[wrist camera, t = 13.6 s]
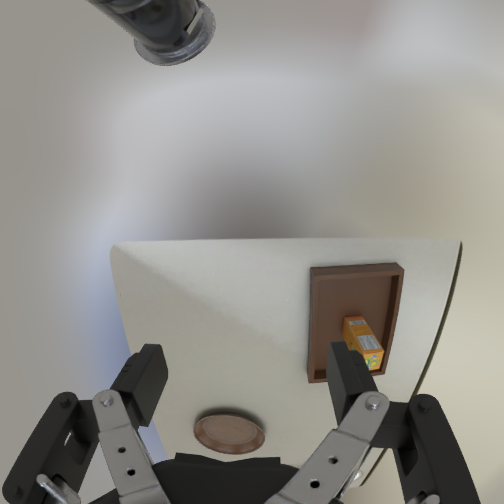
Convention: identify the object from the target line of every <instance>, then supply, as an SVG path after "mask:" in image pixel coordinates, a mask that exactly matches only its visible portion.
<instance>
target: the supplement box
mask: <svg viewBox="0 0 504 504" xmlns="http://www.w3.org/2000/svg"><path fill="white" fill-rule="evenodd" d="M342 336H343V338H344V340H345V341H346V344H347V346H348V349H349V350H357V351H358V352H359V353H361V354H362V355H363V357H364V359H365V361H366V365H367V366H368V368H369V370H374V369H379V368H380V364H381V361H382V357H383V353H384V350H383V348H382V347H381V345H380V343H379V342H378V340H377V339H376V337H375V335H374V334H373V332H372V331H371V329H370V327H369V326H368V324H367V323H366V321H365V320H364V318H363V317H362V316H354V317H344V322H343V328H342Z"/></svg>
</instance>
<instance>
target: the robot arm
mask: <svg viewBox="0 0 504 504" xmlns="http://www.w3.org/2000/svg"><path fill="white" fill-rule="evenodd" d="M86 1H87V2H89V3H90V4H91V5H93V6H94V7H96V8H97V9H98V10H100V11H101V12H102V13H104V14H105V15H106V16H107V17H109V18H110V19H111V20H113V21H114V22H115V23H116V24H118V25H119V26H120V27H121V28H123V29H124V30H125V31H126V32H128V33H129V34H130V35H131V36H132V37H134V38H135V39H136V40H137V41H138V42H140V43H141V44H142V45H143V47H144V48H145V49H147V50H148V51H149V52H151V53H153V54H156V55H161V56H168V55H174V54H177V53H180V52H182V51H184V50H186V49H188V48H189V47H191V46H192V45H193V44H194V43H195V42H196V41H197V40H198V39H199V38H200V36H201V35H202V33H203V31H204V27H205V18H204V15H203V10H202V7H201V8H199V6H198V4H197V2H196V0H86ZM326 376H327V381H328V386H329V390H330V394H331V398H332V403H333V407H334V411H335V416H336V420H337V425H338V427H337V429H332V430H331V431H330V432H329V433H328V435H327V436H326V437H325V439H324V440H323V441H322V443H321V444H320V445H319V446H318V448H317V449H316V450H315V451H314V453H313V454H312V455H311V456H310V458H309V459H308V460H307V461H306V462H305V464H304V465H303V466H302V467H301V468H300V469H298V468H295V467H293V466H289V465H285V464H280V457H267V458H249V459H244V460H238V461H232V462H222V461H219V460H215V459H212V458H208V457H205V456H202V455H193V454H184V453H176V455H175V459H170V460H165V461H161V462H159V463H156V464H154V462H153V461H152V459H151V457H150V455H149V453H148V451H147V449H146V447H145V445H144V443H143V441H142V439H141V436H140V434H139V432H138V428H139V426H145V427H148V426H149V424H150V421H151V419H152V416H153V414H154V411H155V409H156V406H157V404H158V401H159V399H160V396H161V394H162V392H163V389H164V387H165V384H166V382H167V379H168V368H167V364H166V361H165V357H164V354H163V350H162V347H161V345H160V344H144V346H143V347H142V349H141V351H140V352H139V353H135V354H133V355H132V356H131V357H130V358H129V359H128V360H127V362H126V363H125V365H124V367H123V368H122V370H121V372H120V373H119V375H118V376H117V378H116V379H115V381H114V383H113V384H112V386H111V388H110V390H104V391H101V392H99V393H98V394H96V395H95V396H94V398H93V400H78V398H77V397H76V395H75V394H74V393H72V392H63V393H60V394H58V395H57V396H56V397H55V398H54V399H53V401H52V402H51V404H50V405H49V407H48V409H47V410H46V412H45V413H44V415H43V416H42V418H41V419H40V421H39V423H38V424H37V426H36V428H35V429H34V431H33V433H32V434H31V436H30V437H29V439H28V441H27V443H26V444H25V446H24V448H23V449H22V451H21V453H20V455H19V456H18V458H17V460H16V462H15V463H14V466H13V467H12V469H11V471H10V473H9V475H8V477H7V479H6V480H5V482H4V484H3V487H2V493H3V496H4V498H5V500H7V502H9V503H10V504H81V501H80V497H79V495H78V492H79V490H80V487H81V484H82V482H83V479H84V477H85V474H86V472H87V469H88V466H89V464H90V462H91V459H92V457H93V454H94V452H95V450H96V447H97V445H98V443H99V442H100V444H101V447H102V450H103V453H104V456H105V459H106V462H107V465H108V468H109V471H110V473H111V476H112V479H113V481H114V484H115V486H116V488H115V489H113V490H112V491H110V492H108V493H107V494H105V495H103V496H101V497H100V498H98V499H96V500H94V501H92V502H90V503H89V504H344V503H342V502H341V501H340V500H341V498H342V497H343V495H344V494H345V492H346V491H347V489H348V488H349V486H350V485H351V483H352V481H353V479H354V478H355V476H356V475H357V473H358V471H359V470H360V468H361V467H362V465H363V463H364V462H365V460H366V458H367V457H368V455H369V453H370V451H371V450H372V448H373V447H376V448H392V450H393V453H394V457H395V461H396V465H397V469H398V474H399V478H400V482H401V486H402V491H403V495H404V500H405V504H481V503H480V500H479V497H478V494H477V491H476V489H475V486H474V483H473V480H472V478H471V475H470V472H469V470H468V467H467V464H466V462H465V460H464V457H463V455H462V452H461V450H460V447H459V445H458V443H457V440H456V438H455V436H454V434H453V432H452V429H451V427H450V425H449V423H448V420H447V418H446V416H445V414H444V412H443V410H442V408H441V406H440V404H439V402H438V400H437V399H436V398H435V397H433V396H431V395H428V394H418V395H416V396H414V397H412V398H411V400H410V402H409V403H403V402H392V401H389V399H388V398H387V397H386V396H385V395H384V394H382V393H380V392H378V389H377V387H376V384H375V382H374V380H373V377H372V375H371V373H370V371H369V368H368V366H367V365H366V361H365V359H364V357H363V355H362V354H361V353H359V352H358V351H357V350H349V349H348V346H347V344H346V341H334V342H329V345H328V355H327V364H326ZM69 432H70V433H71V435H70V437H69V439H68V441H67V443H66V445H64V444H65V440H66V438H67V436H68V434H69Z"/></svg>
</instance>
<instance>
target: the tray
mask: <svg viewBox="0 0 504 504" xmlns="http://www.w3.org/2000/svg"><path fill="white" fill-rule="evenodd" d="M403 277H404V269H403V268H402V267H401V266H400V265H398V264H397V263H383V264H367V265H350V266H332V267H312V268H311V283H310V321H309V345H308V363H307V375H308V381H309V383H321V382H328V381H327V376H326V364H327V355H328V345H329V342H334V341H345V340H344V338H343V336H342V328H343V322H344V317H354V316H362V317H363V318H364V320H365V321H366V323H367V324H368V326H369V327H370V329H371V331H372V332H373V334H374V335H375V337H376V339H377V340H378V342H379V343H380V345H381V347H382V348H383V350H384V353H383V357H382V361H381V364H380V368H379V369H374V370H369V371H370V373H371V375H372V376H377V375H383V374H385V370H386V366H387V362H388V358H389V354H390V350H391V345H392V341H393V336H394V331H395V326H396V321H397V316H398V310H399V304H400V298H401V292H402V285H403Z"/></svg>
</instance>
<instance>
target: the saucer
mask: <svg viewBox="0 0 504 504" xmlns="http://www.w3.org/2000/svg"><path fill="white" fill-rule="evenodd" d="M193 433H194V436H195V438H196V439H197V440H198V441H199V442H200V443H201V444H202V445H203V446H205V447H207V448H208V449H211V450H213V451H216V452H219V453H224V454H232V455H239V454H246V453H250V452H253V451H255V450H257V449H259V448H260V447H261V446H262V445H263V444H264V441H265V435H264V432H263V431H262V430H261V428H260V427H259V426H258V425H257V424H256V423H254V422H253V421H251V420H250V419H248V418H245V417H243V416H240V415H236V414H231V413H219V414H213V415H210V416H207V417H205V418H203V419H201V420H200V421H198V422H197V423H196V424H195V426H194V428H193Z"/></svg>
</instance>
